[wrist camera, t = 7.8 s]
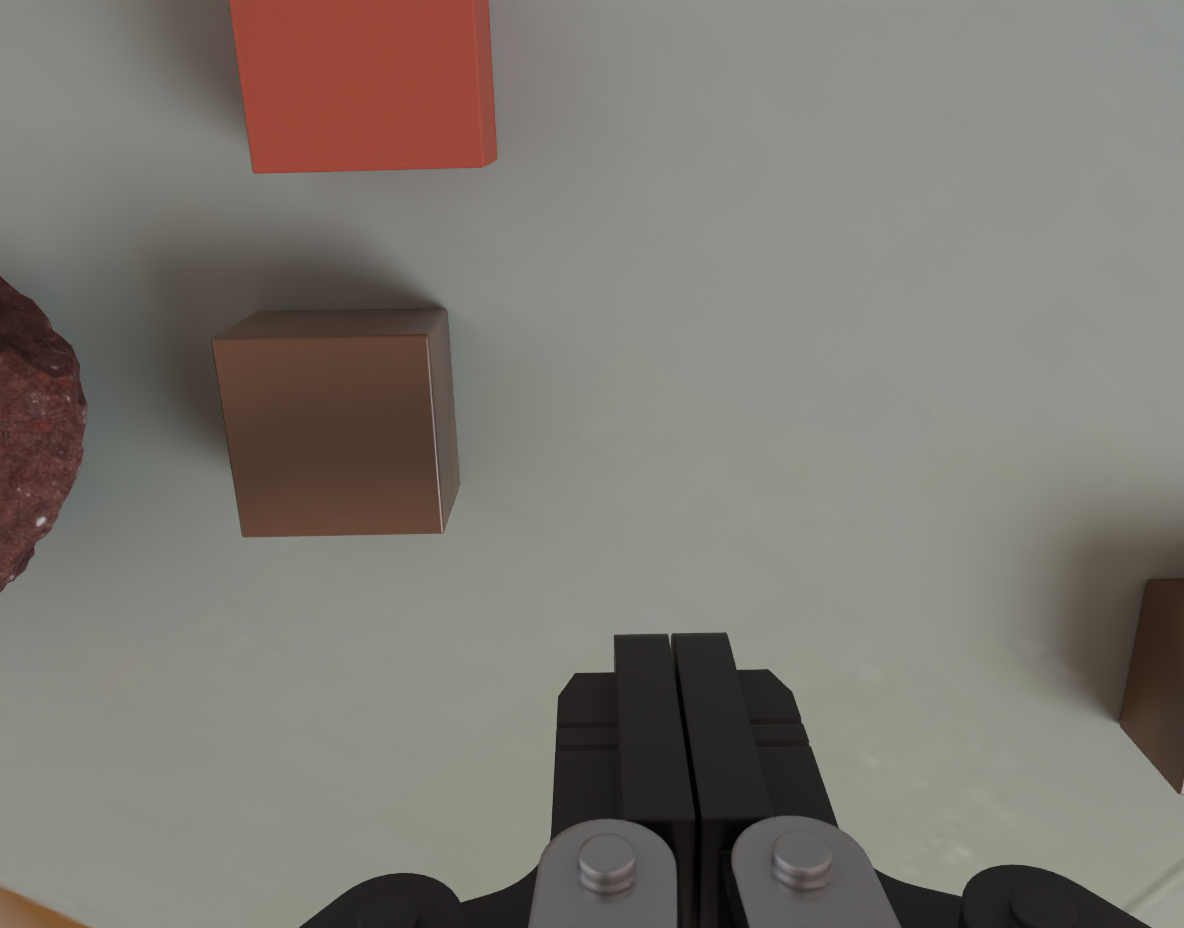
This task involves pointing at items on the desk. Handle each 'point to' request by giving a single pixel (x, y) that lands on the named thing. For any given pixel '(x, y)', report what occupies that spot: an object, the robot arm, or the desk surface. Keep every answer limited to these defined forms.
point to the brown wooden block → (340, 421)
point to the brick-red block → (365, 84)
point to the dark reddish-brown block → (1159, 681)
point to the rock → (34, 428)
